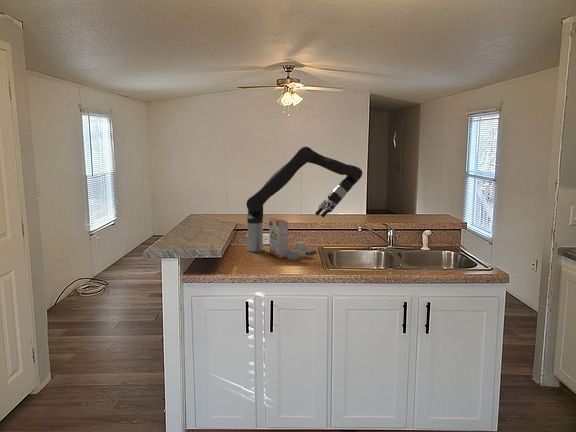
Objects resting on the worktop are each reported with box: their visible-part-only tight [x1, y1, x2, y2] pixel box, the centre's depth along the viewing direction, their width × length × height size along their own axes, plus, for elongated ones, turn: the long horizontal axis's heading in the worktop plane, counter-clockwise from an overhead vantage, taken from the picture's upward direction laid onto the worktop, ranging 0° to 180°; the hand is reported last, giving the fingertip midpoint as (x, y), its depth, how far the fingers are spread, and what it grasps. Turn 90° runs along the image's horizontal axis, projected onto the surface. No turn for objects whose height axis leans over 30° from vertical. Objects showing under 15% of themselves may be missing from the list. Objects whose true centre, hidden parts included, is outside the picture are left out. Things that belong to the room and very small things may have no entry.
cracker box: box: [268, 217, 289, 259], centre depth 280 cm, size 14×6×21 cm, turn 25°
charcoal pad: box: [306, 248, 317, 256], centre depth 288 cm, size 9×8×2 cm
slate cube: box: [287, 249, 300, 261], centre depth 273 cm, size 4×4×4 cm
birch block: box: [293, 240, 307, 258], centre depth 279 cm, size 5×5×8 cm
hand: (319, 215), depth 280 cm, fingers open, 8 cm apart
